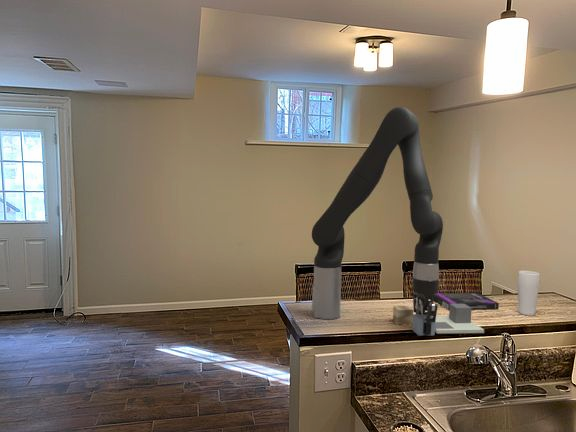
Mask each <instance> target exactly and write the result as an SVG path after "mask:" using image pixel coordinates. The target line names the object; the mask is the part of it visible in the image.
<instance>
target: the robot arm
mask: <svg viewBox="0 0 576 432" xmlns="http://www.w3.org/2000/svg"><path fill="white" fill-rule="evenodd" d="M419 127H420V126H419V119H418V117H417V116H416V114H415V113H413V112H412V111H411V110H409V109H408V108H406V107H404V106H397V107H394V108H392V109H391V110H389V111H388V112H387V113H386V115H385V116H384V118H383V119H382V121H381V123H380V125H379V128H378V129H377V132H376V133H375V135H374V137H373V138H372V141H371V142H370V143H369V145H368V146H367V148H366V149H365V150H364V152H363V154H362V155H361V156H360V158H359V160H358V161H357V163H356V164H355V166H354V167H352V169H351V171H350V173H349V175H348V176H347V177H346V179H345V181H344V183H343V184H342V186H341V187H340V188H339V190H338V192H337V193H336V195H335V197H334V198H333V200H332V202H331V203H330V205H329V206H328V208H327V209H326V210H325V211H324V212H323V214H321V216H320V217H319V219H318V220H317V221H316V222H315V223H314V225H313V226H312V230H311V239H312V241H313V243H314V245H316V246H317V247H318V249H317V252H316V255H315V256H314V259H313V260H314V261H313V265H314V266H313V286H312V297H311V298H312V299H311V305H312V306H311V314H312V316H313V317H314V319H322V320H335V319H339V318H340V317H341V297H342V295H341V293H342V292H341V290H342V289H341V287H342V284H341V283H342V263H343V258H344V253H345V252H344V251H345V239H346V238H345V234H346V233H345V229H344V228H345V227H344V225H345V224H346V222H347V220H348V219H349V218H350V216H351V215H353V213H354V212H355V211H357V210H358V208H359V207H360V206H361V205H362V204H364V202H366V200H367V199H368V198H369V197H370V195H371V194H372V192H373V191H374V190H375V189H376V187H377V186H378V184H379V183H380V180H381V178H382V176H383V174H384V172H385V169H386V166H387V163H388V160H389V158H390V156H391V154H392V153H393V151H394V150H395V149H396V147H397V146H398V149H399V151H400V154H401V159H402V167H403V168H402V169H403V180H404V186H405V190H406V193H407V196H408V200H409V213H410V215H409V216H410V223H411V225H412V228H413V230H414V231H415V233H417V234H418V235H419V238H418V239H419V240H418V242H417V243H416V244H415V245H414V246H415V247H414V258H413V260H414V262H413V266H412V267H413V269H412V287H411V289H412V291H413V294H412V302H413V304H412V305H413V308H412V309H413V313H415V314H422V315H423V321H424V323H423V334H424V335H425V336H431V335H430V334H431V323H435V321H436V316H437V313H438V307H439V304H437V303H434V301H433V295H434V294H437V293H439V281H440V280H439V277H440V276H439V275H440V274H439V273H440V268H439V267H440V266H439V255H440V253H439V252H440V250H439V248H440V246H441V245H440V244H441V240H442V236H443V231H444V229H443V228H444V221H443V218H442V216H441V215H440V214H439V213H438V212H437V211H433V209H432V200H433V199H434V197H433V191H432V186H431V183H430V180H429V176H428V171H427V169H426V165H425V161H424V157H423V153H422V147H421V137H420V128H419ZM426 315H427V316H426ZM432 316H433V317H432Z"/></svg>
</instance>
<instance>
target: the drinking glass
mask: <svg viewBox="0 0 576 432" xmlns="http://www.w3.org/2000/svg"><path fill="white" fill-rule="evenodd" d="M540 277H541V275H540V273H539V272H537V271H533V270H519V271H518V275H517V298H518V299H517V300H518V308H517V310H518V313H519V314H520V315H522V316H529V317H530V316H535V315H536V311H537V309H536V307H537V303H538V295H539V289H540V279H541V278H540Z"/></svg>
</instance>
